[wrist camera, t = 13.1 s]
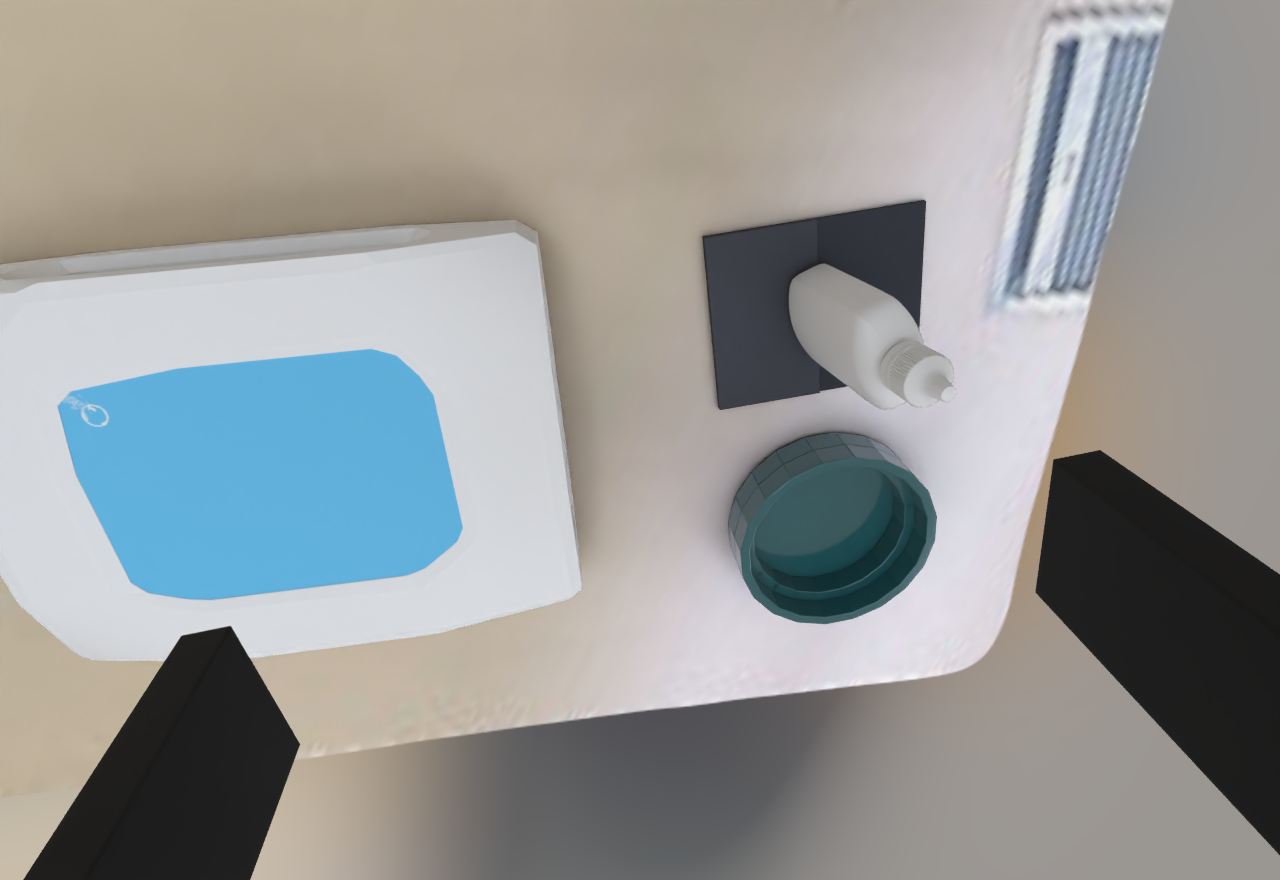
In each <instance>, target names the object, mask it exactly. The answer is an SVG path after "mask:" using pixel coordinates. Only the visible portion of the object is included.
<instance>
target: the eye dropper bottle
mask: <svg viewBox="0 0 1280 880" xmlns="http://www.w3.org/2000/svg"><path fill="white" fill-rule="evenodd" d="M789 312H790V318H791V323H792V326H793V329H794V332H795V334H796V336H797V338H798V340H799V342H800V344H801V345H802V347H803V348H804V350H805V351H806V352H807V353H808V354H809V356H810V357H811V358H812V359H813V360H815V361H816V362H817V363H818V364H819V365H821V366H822V367H823V368H825V369H826V370H827V371H829V372H830V373H831V374H832V375H834V376H835V377H836V378H838V379H839V380H840V381H842V382H843V383H844V384H846V385H847V386H848V387H850V388H851V389H852V390H854V391H855V392H856V393H857V394H859V395H860V396H861V397H863V398H864V399H866V400H867V401H868V402H870V403H871V404H873V405H874V406H876V407H878V408H880V409H883V410H887V409H893V408H895V407H898V406H900V405H902V404H904V403H906V402H907V403H909V404H910V405H913V406H915V407H927V406H930V405H933V404H935V403H937V402H938V401H940V400H941V401H944V402H950V401H952V400H953V399H954V398H955V396H956V393H957V390H956V388H955V387H954V386H953V385H952V382H953V379H954V370H953V366H952V363H951V361H949V359H947V358H946V357H945V356H943V355H941V354H939V353H938V352H936V351H934V350H932V349H930V348H929V347H927V346H925V345H924V341H923V338H922V335H921V333H920V330H919V328H918V326H917V324H916V323H915V321H914V319H913V318H912V316H911V315H910V313H909V312H908V311H907V310H906V308H905V307H904V306H903V305H902V304H901V303H900V302H899V301H898V300H897V299H895V298H894V297H892V296H891V295H889V294H887V293H885V292H883V291H881V290H879V289H877V288H875V287H873V286H871V285H869V284H867V283H865V282H863V281H861V280H859V279H857V278H855V277H853V276H851V275H848V274H846V273H844V272H842V271H840V270H838V269H836V268H834V267H832V266H830V265H827V264H819V265H817V266H814V267H812V268H810V269H808V270H806V271H804V272H802V273H800V274H799V275H797V276H796V277H795V278H793V279H792V282H791V284H790V289H789Z"/></svg>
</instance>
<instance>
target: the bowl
mask: <svg viewBox="0 0 1280 880" xmlns="http://www.w3.org/2000/svg"><path fill="white" fill-rule="evenodd" d="M936 519H937V516H936V512H935V509H934V506H933V503H932V500H931V497H930V494H929V492H928V490H927V489H926V488H925V487H924V486H923V485H922V483H921V482H920V481H919V480H918V479H917V478H916V477H915V476H914V475H913V474H912V472H911V471H910V470H909V469H908V468H907V467H906V466H905V465H904V464H903V463H902V461H901V460H900V459H899V458H898V457H897V456H896V455H895V454H894V453H893V452H892V450H891V449H890V448H888V447H887V446H885V445H883V444H881V443H879V442H877V441H874V440H872V439H870V438H868V437H866V436H863V435H855V434H846V433H838V432H835V433H834V432H833V433H828V434H822V435H816V436H811V437H805V438H802V439H800V440H798V441H796V442H794V443H792V444H790V445H787V446H785V447H783V448H781V449H779V450H777V451H776V452H774V453H773V454H772V455H770V456H769V457H768V458H767V459H766V460H765V461H763V462H762V463H761V464H760V465H759V466H758V467H756V468H755V469H754V470H753V471H752V472H751V473H750V475H749V476H748V478H747V479H746V481H745V482H744V484H743V485H742V487H741V488H740V490H739V491H738V493H737V494H736V496H735V499H734V503H733V506H732V510H731V514H730V517H729V523H728V524H729V535H730V545H731V548H732V551H733V553H734V556H735V559H736V561H737V564H738V566H739V569H740V572H741V574H742V577H743V579H744V581H745V582H746V584H747V586H748V588H749V590H750V592H751V594H752V596H753V597H754V598H755V599H756V600H757V601H758V602H760V603H761V604H762V605H763V606H764V607H766V608H767V609H768V610H769V611H771V612H772V613H773V614H776V615H779V616H781V617H784V618H787V619H790V620H792V621H795V622H801V623H817V624H828V623H833V622H839V621H844V620H849V619H854V618H856V617H859V616H861V615H863V614H865V613H868V612H870V611H872V610H875V609H877V608H879V607H881V606H883V605H884V604H885V603H887V602H888V601H890V600H891V599H892V598H894V597H895V596H896V595H898V594H899V593H900V592H902V591H903V590H904V589H905V588H906V587H907V586H908V585H909V584H910V582H911V581H912V580H913V579H914V578H915V576H916V575H917V574H918V573H919V571H920V570H921V569H922V568H923V566H924V565H925V562H926V560H927V558H928V555H929V553H930V551H931V549H932V546H933V544H934V541H935V532H936Z"/></svg>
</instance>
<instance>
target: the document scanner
mask: <svg viewBox="0 0 1280 880" xmlns="http://www.w3.org/2000/svg"><path fill="white" fill-rule="evenodd" d="M0 575H1V577H2V578H3V580H4V582H5V583H6V585H7V587H8V588H9V590H10V591H11V593H12V595H13V596H14V598H15V600H16V601H17V603H18V604H19V605H20V606H21V607H22V608H23V609H24V610H25V611H27V612H28V613H29V614H30V615H31V616H32V617H33V618H35V619H36V620H37V621H38V622H39V623H40V624H42V625H43V626H44V627H45V628H46V629H47V630H49V631H50V632H51V633H52V634H53V635H54V636H56V637H57V638H58V639H59V640H60V641H61V642H62V643H64V644H65V645H66V646H67V647H68V648H69V649H71V650H72V651H73V652H74V653H75V654H77V655H79V656H81V657H83V658H86V659H90V660H97V661H165V660H166V659H167V657H168V655H169V654H170V652H171V651H172V649H173V648H174V646H175V645H176V643H177V642H178V640H179V638H180V637H181V636H182V635H187V634H192V633H197V632H202V631H207V630H212V629H217V628H222V627H227V626H231V627H232V629H233V630H234V632H235V634H236V635H237V637H238V639H239V641H240V642H241V644H242V646H243V647H244V649H245V651H246V653H247V654H248V656H249V658H257V657H265V656H273V655H280V654H288V653H295V652H303V651H311V650H318V649H326V648H334V647H341V646H349V645H357V644H364V643H372V642H379V641H387V640H395V639H402V638H410V637H418V636H425V635H433V634H438V633H441V632H445V631H449V630H453V629H457V628H461V627H465V626H469V625H472V624H476V623H480V622H484V621H488V620H492V619H496V618H500V617H503V616H507V615H511V614H515V613H519V612H523V611H527V610H531V609H534V608H538V607H542V606H546V605H550V604H554V603H558V602H562V601H565V600H568V599H570V598H571V597H573V596H574V595H575V594H576V593H578V592H579V591H580V590H581V589H582V578H581V563H580V553H579V544H578V536H577V528H576V519H575V511H574V503H573V494H572V486H571V478H570V470H569V463H568V455H567V447H566V440H565V432H564V424H563V417H562V409H561V401H560V394H559V386H558V379H557V371H556V363H555V356H554V348H553V340H552V333H551V325H550V317H549V310H548V303H547V296H546V289H545V282H544V275H543V268H542V261H541V254H540V248H539V241H538V234H537V231H535V230H533V229H531V228H529V227H528V226H526V225H524V224H522V223H520V222H518V221H517V220H502V221H481V222H461V223H440V224H420V225H399V226H384V227H373V228H362V229H351V230H340V231H328V232H317V233H306V234H295V235H284V236H273V237H261V238H250V239H239V240H228V241H217V242H206V243H195V244H183V245H172V246H161V247H150V248H139V249H128V250H116V251H105V252H96V253H88V254H80V255H72V256H64V257H56V258H47V259H39V260H31V261H23V262H15V263H7V264H0Z"/></svg>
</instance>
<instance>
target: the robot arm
mask: <svg viewBox="0 0 1280 880" xmlns="http://www.w3.org/2000/svg"><path fill="white" fill-rule="evenodd" d="M1036 593H1037V594H1038V595H1039V597H1040V598H1041V599H1042V600H1043V601H1044V602H1045V603H1046V604H1047V605H1048V606H1049V607H1050V608H1051V610H1052V611H1053V612H1054V613H1055V614H1056V615H1057V616H1058V617H1059V618H1060V619H1061V620H1062V621H1063V622H1064V624H1065V625H1066V626H1067V627H1068V628H1069V629H1070V630H1071V631H1072V632H1073V633H1074V634H1075V635H1076V636H1077V637H1078V639H1079V640H1080V641H1081V642H1082V643H1083V644H1084V645H1085V646H1086V647H1087V648H1088V649H1089V650H1090V651H1091V652H1092V654H1093V655H1094V656H1095V657H1096V658H1097V659H1098V660H1099V661H1100V662H1101V663H1102V664H1103V665H1104V667H1105V668H1106V669H1107V670H1108V671H1109V672H1110V673H1111V674H1112V675H1113V676H1114V677H1115V678H1116V679H1117V681H1118V682H1119V683H1120V684H1121V685H1122V686H1123V687H1124V688H1125V689H1126V690H1127V691H1128V692H1129V693H1130V695H1131V696H1132V697H1133V698H1134V699H1135V700H1136V701H1137V702H1138V703H1139V704H1140V705H1141V706H1142V707H1143V709H1144V710H1145V711H1146V712H1147V713H1148V714H1149V715H1150V716H1151V717H1152V718H1153V719H1154V720H1155V721H1156V723H1157V724H1158V725H1159V726H1160V727H1161V728H1162V729H1163V730H1164V731H1165V732H1166V733H1167V734H1168V735H1169V737H1171V739H1172V740H1173V741H1174V742H1175V743H1176V744H1177V745H1178V746H1179V747H1180V748H1181V749H1182V751H1183V752H1184V753H1185V754H1186V755H1187V756H1188V757H1189V758H1190V759H1191V760H1192V761H1193V762H1194V763H1195V764H1196V766H1197V767H1198V768H1199V769H1200V770H1201V771H1202V772H1203V773H1204V774H1205V775H1206V776H1207V777H1208V778H1209V780H1211V782H1212V783H1213V784H1214V785H1215V786H1216V787H1217V788H1218V789H1219V790H1220V791H1221V792H1222V794H1223V795H1224V796H1225V797H1226V798H1227V799H1228V800H1229V801H1230V802H1231V803H1232V804H1233V805H1234V806H1235V808H1237V809H1238V811H1239V812H1240V813H1241V814H1242V815H1243V816H1244V817H1245V818H1246V819H1247V820H1248V821H1249V823H1250V824H1251V825H1252V826H1253V827H1254V828H1255V829H1256V830H1257V831H1258V832H1259V833H1260V834H1261V836H1262V837H1263V838H1264V839H1265V840H1266V841H1267V842H1268V843H1269V844H1270V845H1271V846H1272V847H1273V848H1274V849H1275V851H1277V853H1278V854H1279V855H1280V574H1278V573H1277V572H1275V571H1274V570H1273V569H1271V568H1270V567H1268V566H1267V565H1265V564H1264V563H1262V562H1261V561H1260V560H1258V559H1257V558H1255V557H1254V556H1252V555H1251V554H1249V553H1248V552H1247V551H1245V550H1244V549H1242V548H1241V547H1239V546H1238V545H1236V544H1235V543H1233V542H1232V541H1231V540H1229V539H1228V538H1226V537H1225V536H1223V535H1222V534H1221V533H1219V532H1218V531H1216V530H1215V529H1213V528H1212V527H1210V526H1209V525H1207V524H1206V523H1205V522H1203V521H1202V520H1200V519H1199V518H1197V517H1196V516H1195V515H1193V514H1192V513H1190V512H1189V511H1187V510H1186V509H1184V508H1183V507H1182V506H1180V505H1179V504H1177V503H1176V502H1174V501H1173V500H1171V499H1170V498H1169V497H1167V496H1166V495H1164V494H1163V493H1161V492H1160V491H1158V490H1157V489H1156V488H1154V487H1153V486H1151V485H1150V484H1148V483H1147V482H1145V481H1144V480H1143V479H1141V478H1140V477H1138V476H1137V475H1135V474H1134V473H1132V472H1131V471H1130V470H1128V469H1127V468H1125V467H1124V466H1122V465H1121V464H1119V463H1118V462H1116V461H1115V460H1114V459H1112V458H1111V457H1109V456H1108V455H1106V454H1105V453H1103V452H1102V451H1101V450H1098V451H1094V452H1089V453H1084V454H1079V455H1074V456H1069V457H1064V458H1059V459H1054V460H1053V468H1052V475H1051V482H1050V490H1049V497H1048V505H1047V512H1046V519H1045V526H1044V534H1043V541H1042V548H1041V556H1040V563H1039V571H1038V578H1037V585H1036ZM299 746H300V743H299V742H298V740H297V738H296V737H295V735H294V733H293V731H292V730H291V728H290V726H289V725H288V723H287V721H286V719H285V718H284V716H283V714H282V713H281V711H280V709H279V707H278V706H277V704H276V702H275V701H274V699H273V697H272V695H271V694H270V692H269V690H268V689H267V687H266V685H265V683H264V682H263V680H262V678H261V677H260V675H259V673H258V671H257V670H256V668H255V666H254V665H253V663H252V661H251V659H250V658H249V656H248V654H247V653H246V651H245V649H244V647H243V646H242V644H241V642H240V641H239V639H238V637H237V635H236V634H235V632H234V630H233V629H232V627H231V626H227V627H222V628H217V629H212V630H207V631H202V632H197V633H192V634H187V635H182V636H181V637H180V638H179V640H178V642H177V643H176V645H175V646H174V648H173V649H172V651H171V652H170V654H169V655H168V657H167V659H166V660H165V662H164V663H163V665H162V666H161V668H160V669H159V671H158V672H157V674H156V676H155V677H154V679H153V680H152V682H151V683H150V685H149V686H148V688H147V689H146V691H145V693H144V694H143V696H142V697H141V699H140V700H139V702H138V703H137V705H136V706H135V708H134V710H133V711H132V713H131V714H130V716H129V717H128V719H127V720H126V722H125V723H124V725H123V727H122V728H121V730H120V731H119V733H118V734H117V736H116V737H115V739H114V740H113V742H112V744H111V745H110V747H109V748H108V750H107V751H106V753H105V754H104V756H103V757H102V759H101V761H100V762H99V764H98V765H97V767H96V768H95V770H94V771H93V773H92V774H91V776H90V778H89V779H88V781H87V782H86V784H85V785H84V787H83V788H82V790H81V792H80V793H79V795H78V796H77V798H76V799H75V801H74V802H73V804H72V805H71V807H70V808H69V810H68V812H67V813H66V815H65V816H64V818H63V820H62V821H61V822H60V824H59V826H58V827H57V829H56V830H55V832H54V833H53V835H52V837H51V838H50V839H49V841H48V843H47V844H46V846H45V847H44V849H43V850H42V852H41V853H40V855H39V857H38V858H37V859H36V861H35V863H34V864H33V866H32V867H31V869H30V870H29V872H28V873H27V875H26V876H25V878H24V880H250V878H251V876H252V873H253V871H254V868H255V865H256V862H257V860H258V857H259V854H260V851H261V849H262V846H263V843H264V841H265V838H266V835H267V832H268V830H269V827H270V824H271V822H272V819H273V816H274V814H275V811H276V808H277V805H278V803H279V800H280V797H281V794H282V792H283V789H284V786H285V784H286V781H287V778H288V775H289V773H290V770H291V767H292V765H293V762H294V759H295V756H296V754H297V751H298V748H299Z"/></svg>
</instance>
